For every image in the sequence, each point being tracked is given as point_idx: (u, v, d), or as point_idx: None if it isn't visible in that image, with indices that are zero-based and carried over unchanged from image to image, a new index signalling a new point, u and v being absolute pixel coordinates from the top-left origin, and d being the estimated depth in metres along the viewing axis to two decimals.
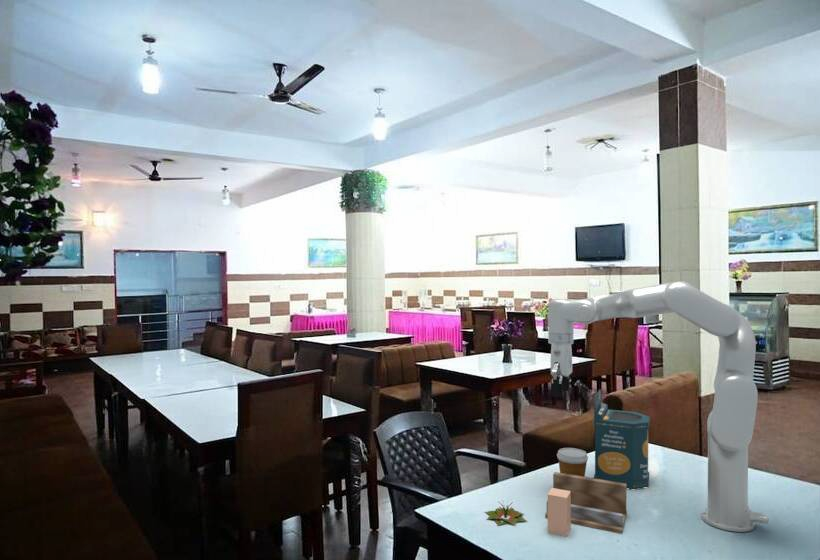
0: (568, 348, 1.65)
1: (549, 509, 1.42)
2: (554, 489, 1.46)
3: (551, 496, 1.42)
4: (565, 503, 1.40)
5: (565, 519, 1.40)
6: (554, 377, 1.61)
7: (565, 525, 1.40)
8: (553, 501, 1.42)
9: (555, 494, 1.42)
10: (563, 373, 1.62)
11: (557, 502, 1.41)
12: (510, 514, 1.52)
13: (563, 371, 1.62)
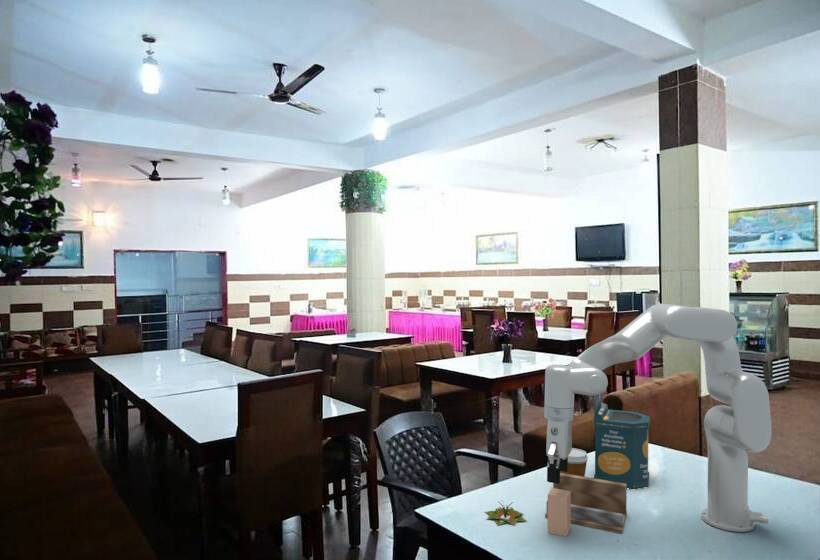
0: (567, 425, 1.40)
1: (549, 509, 1.42)
2: (554, 489, 1.45)
3: (551, 497, 1.42)
4: (565, 503, 1.40)
5: (565, 519, 1.40)
6: (550, 461, 1.36)
7: (565, 525, 1.40)
8: (553, 501, 1.41)
9: (555, 494, 1.42)
10: (562, 455, 1.38)
11: (557, 502, 1.41)
12: (510, 514, 1.52)
13: (561, 453, 1.38)
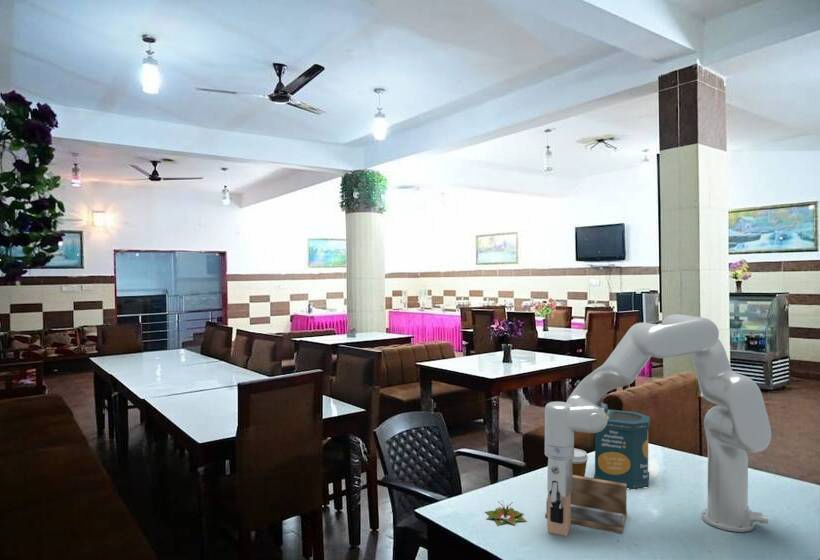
0: (568, 463, 1.40)
1: (549, 509, 1.42)
2: None
3: None
4: (565, 503, 1.40)
5: (565, 519, 1.40)
6: None
7: (565, 525, 1.40)
8: None
9: None
10: (563, 494, 1.38)
11: None
12: (510, 514, 1.52)
13: (562, 492, 1.38)
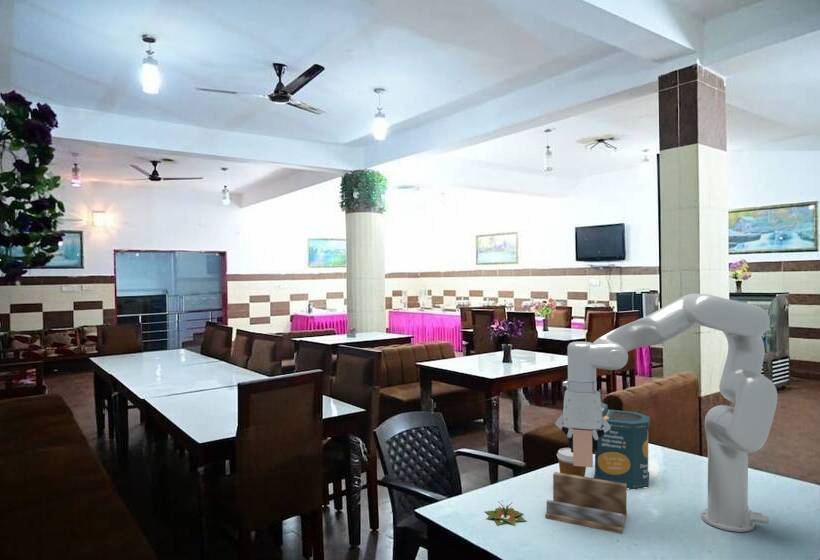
0: (575, 398, 1.48)
1: None
2: None
3: None
4: (573, 434, 1.49)
5: (573, 449, 1.49)
6: None
7: (573, 455, 1.49)
8: None
9: None
10: (563, 422, 1.50)
11: None
12: (510, 514, 1.52)
13: (563, 420, 1.50)
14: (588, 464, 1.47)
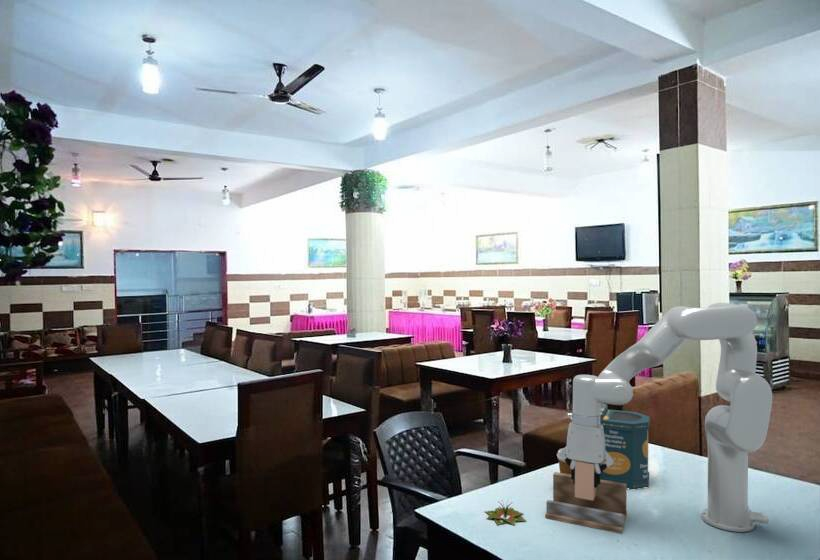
0: (578, 430, 1.50)
1: None
2: None
3: None
4: (575, 466, 1.51)
5: (575, 481, 1.51)
6: None
7: (575, 486, 1.51)
8: None
9: None
10: (566, 453, 1.52)
11: None
12: (510, 514, 1.52)
13: (566, 451, 1.52)
14: (589, 497, 1.49)
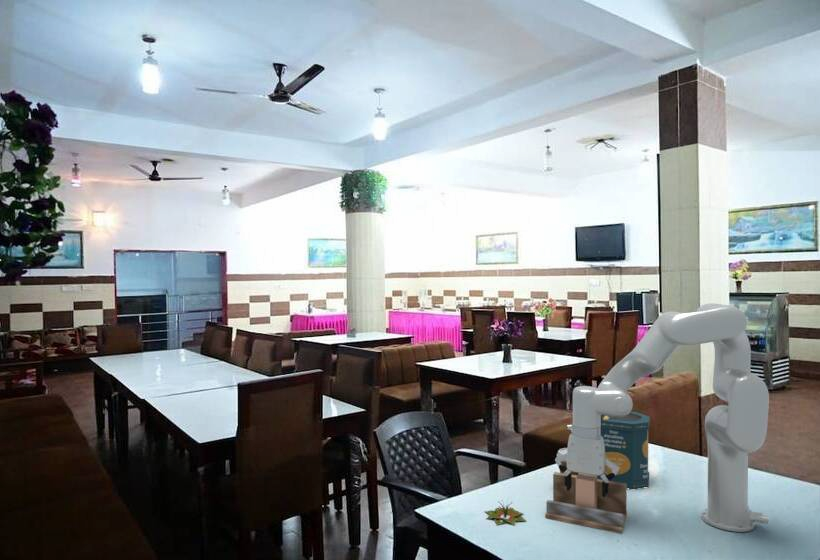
0: (578, 442, 1.50)
1: None
2: (593, 476, 1.52)
3: (578, 475, 1.54)
4: (576, 483, 1.51)
5: None
6: None
7: None
8: None
9: (581, 475, 1.53)
10: None
11: None
12: (510, 514, 1.52)
13: None
14: None
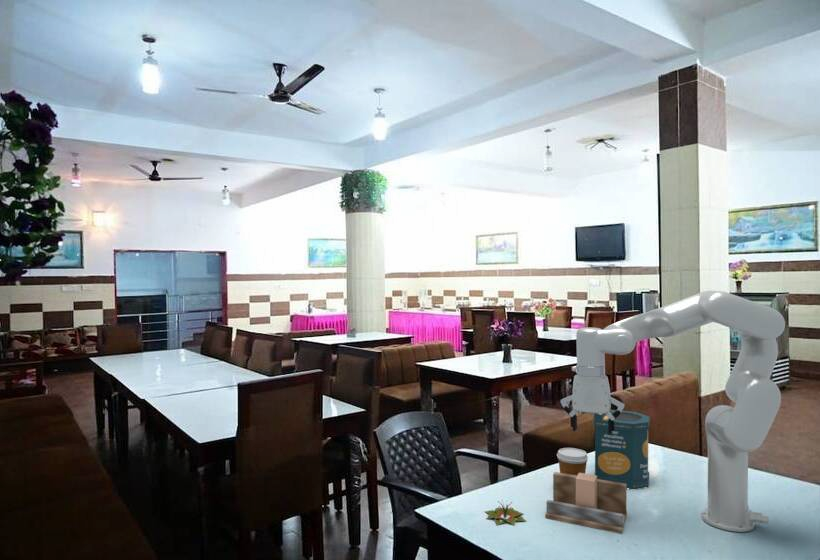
0: (583, 382, 1.51)
1: None
2: (593, 476, 1.52)
3: (578, 475, 1.54)
4: (576, 483, 1.51)
5: None
6: None
7: None
8: None
9: (581, 475, 1.53)
10: (572, 405, 1.54)
11: None
12: (510, 514, 1.53)
13: (572, 404, 1.54)
14: None
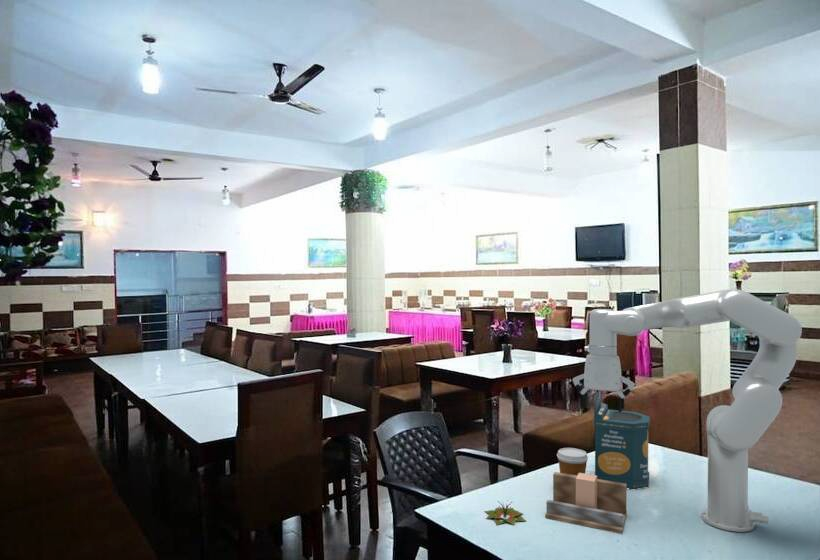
0: (595, 361, 1.57)
1: None
2: (593, 476, 1.52)
3: (578, 475, 1.54)
4: (576, 483, 1.51)
5: None
6: None
7: None
8: None
9: (581, 475, 1.53)
10: (584, 383, 1.59)
11: None
12: (510, 514, 1.53)
13: (584, 382, 1.59)
14: None
